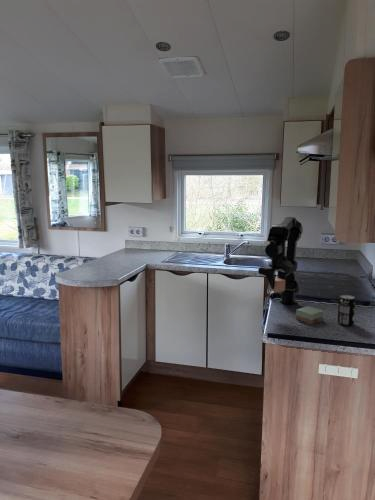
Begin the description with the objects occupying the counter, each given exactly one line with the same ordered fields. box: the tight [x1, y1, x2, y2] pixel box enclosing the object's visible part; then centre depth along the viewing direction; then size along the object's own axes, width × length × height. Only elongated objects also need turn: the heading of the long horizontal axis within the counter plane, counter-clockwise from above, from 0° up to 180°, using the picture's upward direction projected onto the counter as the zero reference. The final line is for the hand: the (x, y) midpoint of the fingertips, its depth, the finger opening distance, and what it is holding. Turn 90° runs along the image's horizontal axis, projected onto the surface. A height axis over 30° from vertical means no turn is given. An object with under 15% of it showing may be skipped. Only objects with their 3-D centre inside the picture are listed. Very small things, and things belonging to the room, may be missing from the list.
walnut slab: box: [295, 314, 324, 325], centre depth 171 cm, size 8×8×2 cm
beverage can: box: [336, 294, 357, 327], centre depth 165 cm, size 7×7×12 cm
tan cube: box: [268, 277, 285, 293], centre depth 174 cm, size 5×5×5 cm
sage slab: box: [295, 305, 324, 320], centre depth 170 cm, size 8×8×2 cm
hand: (276, 288), depth 174 cm, fingers closed on tan cube, 5 cm apart
